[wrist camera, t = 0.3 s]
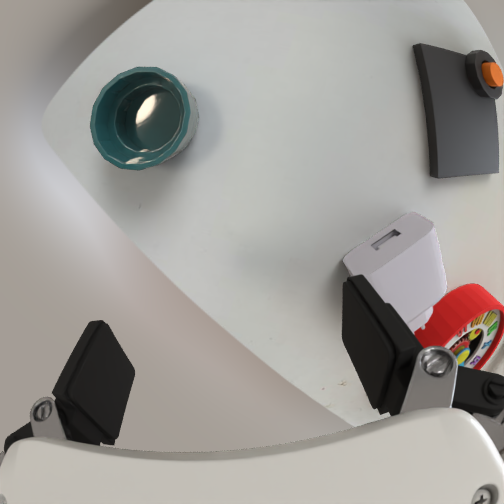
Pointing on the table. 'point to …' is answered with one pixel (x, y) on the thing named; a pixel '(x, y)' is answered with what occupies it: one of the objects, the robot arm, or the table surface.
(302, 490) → the robot arm
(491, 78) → the button
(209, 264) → the table surface
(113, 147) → the bowl
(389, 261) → the charger
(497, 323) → the toy clock
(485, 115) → the dark grey flat slab
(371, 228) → the table surface
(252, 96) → the table surface
